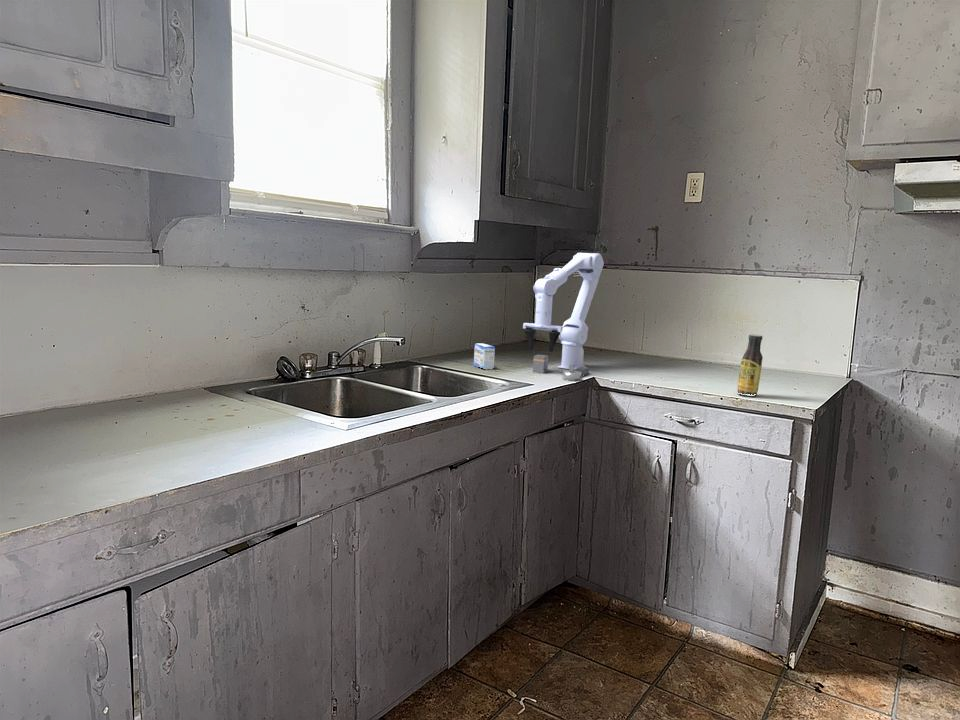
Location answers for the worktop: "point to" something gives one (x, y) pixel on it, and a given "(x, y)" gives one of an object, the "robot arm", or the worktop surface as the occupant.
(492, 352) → the medicine box
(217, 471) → the worktop surface
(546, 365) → the socket
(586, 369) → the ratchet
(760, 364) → the sauce bottle
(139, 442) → the worktop surface
